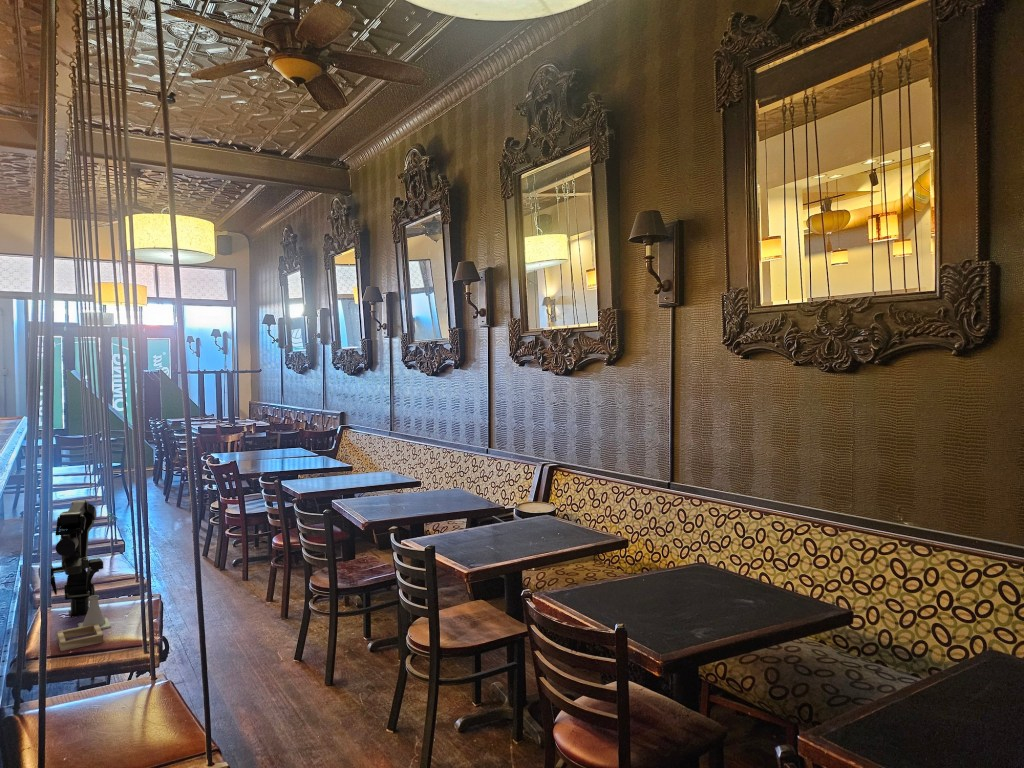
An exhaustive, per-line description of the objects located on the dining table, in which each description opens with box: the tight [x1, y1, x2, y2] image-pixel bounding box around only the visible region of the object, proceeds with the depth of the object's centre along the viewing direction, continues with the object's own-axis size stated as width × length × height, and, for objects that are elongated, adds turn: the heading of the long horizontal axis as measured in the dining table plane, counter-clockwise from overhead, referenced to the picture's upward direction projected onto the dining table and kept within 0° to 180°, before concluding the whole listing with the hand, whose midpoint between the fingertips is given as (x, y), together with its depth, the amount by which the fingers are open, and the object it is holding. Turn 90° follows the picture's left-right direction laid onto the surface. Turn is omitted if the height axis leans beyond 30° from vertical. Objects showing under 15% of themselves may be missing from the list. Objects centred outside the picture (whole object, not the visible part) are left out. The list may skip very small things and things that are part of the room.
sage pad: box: [77, 617, 112, 630], centre depth 242 cm, size 9×9×1 cm
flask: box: [82, 594, 106, 626], centre depth 242 cm, size 7×7×10 cm
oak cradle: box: [56, 624, 105, 652], centre depth 230 cm, size 12×12×2 cm
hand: (71, 592), depth 239 cm, fingers open, 9 cm apart
